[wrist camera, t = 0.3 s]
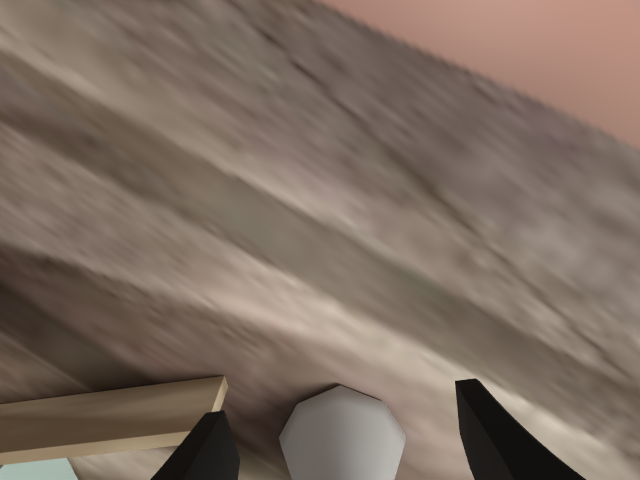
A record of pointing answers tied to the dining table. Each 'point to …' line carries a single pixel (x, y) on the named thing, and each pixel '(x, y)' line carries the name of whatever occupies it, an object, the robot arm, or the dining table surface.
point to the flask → (342, 438)
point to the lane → (106, 420)
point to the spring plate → (38, 470)
